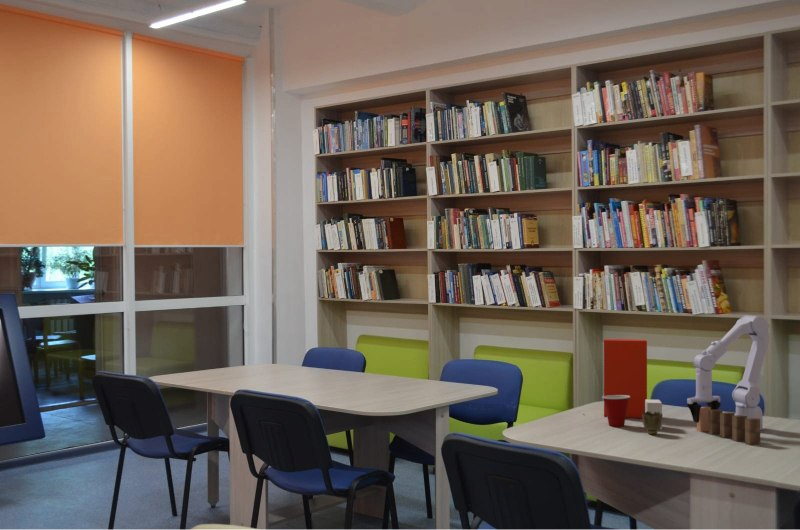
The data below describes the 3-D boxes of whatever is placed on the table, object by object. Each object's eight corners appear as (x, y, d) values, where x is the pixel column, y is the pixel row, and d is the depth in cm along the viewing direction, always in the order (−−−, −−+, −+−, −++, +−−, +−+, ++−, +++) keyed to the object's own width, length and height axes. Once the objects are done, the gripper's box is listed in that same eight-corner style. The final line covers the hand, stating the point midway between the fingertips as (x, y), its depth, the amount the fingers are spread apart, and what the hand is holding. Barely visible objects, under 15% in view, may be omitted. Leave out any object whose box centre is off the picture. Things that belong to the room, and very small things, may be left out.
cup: (663, 433, 306) (663, 411, 306) (661, 436, 300) (661, 415, 299) (643, 431, 309) (643, 410, 309) (640, 435, 303) (640, 413, 303)
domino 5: (755, 442, 290) (755, 417, 289) (760, 443, 288) (760, 418, 288) (745, 444, 288) (745, 418, 288) (749, 445, 286) (749, 419, 286)
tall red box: (604, 413, 346) (604, 338, 346) (646, 415, 342) (646, 339, 341) (604, 416, 338) (603, 340, 338) (647, 418, 334) (646, 341, 334)
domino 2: (718, 432, 306) (718, 409, 306) (722, 433, 304) (722, 410, 304) (708, 433, 304) (708, 410, 304) (712, 435, 302) (712, 411, 302)
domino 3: (730, 436, 301) (730, 411, 301) (734, 437, 299) (734, 412, 299) (720, 437, 299) (720, 412, 299) (724, 438, 297) (724, 413, 297)
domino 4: (742, 439, 295) (742, 414, 295) (747, 440, 293) (747, 415, 293) (732, 440, 293) (732, 415, 293) (736, 441, 291) (736, 416, 291)
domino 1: (707, 429, 312) (707, 406, 312) (710, 430, 310) (710, 407, 310) (696, 430, 310) (696, 407, 310) (700, 431, 308) (700, 408, 308)
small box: (662, 430, 311) (662, 403, 311) (647, 429, 312) (647, 402, 312) (659, 426, 319) (659, 399, 319) (645, 425, 320) (645, 399, 320)
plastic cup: (615, 421, 328) (615, 392, 327) (636, 426, 318) (636, 396, 318) (596, 424, 322) (596, 394, 322) (616, 429, 313) (616, 398, 312)
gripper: (711, 383, 316) (711, 417, 316) (681, 385, 311) (681, 420, 311) (724, 385, 310) (724, 421, 310) (694, 388, 304) (694, 424, 304)
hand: (703, 421), depth 310 cm, fingers open, 7 cm apart
